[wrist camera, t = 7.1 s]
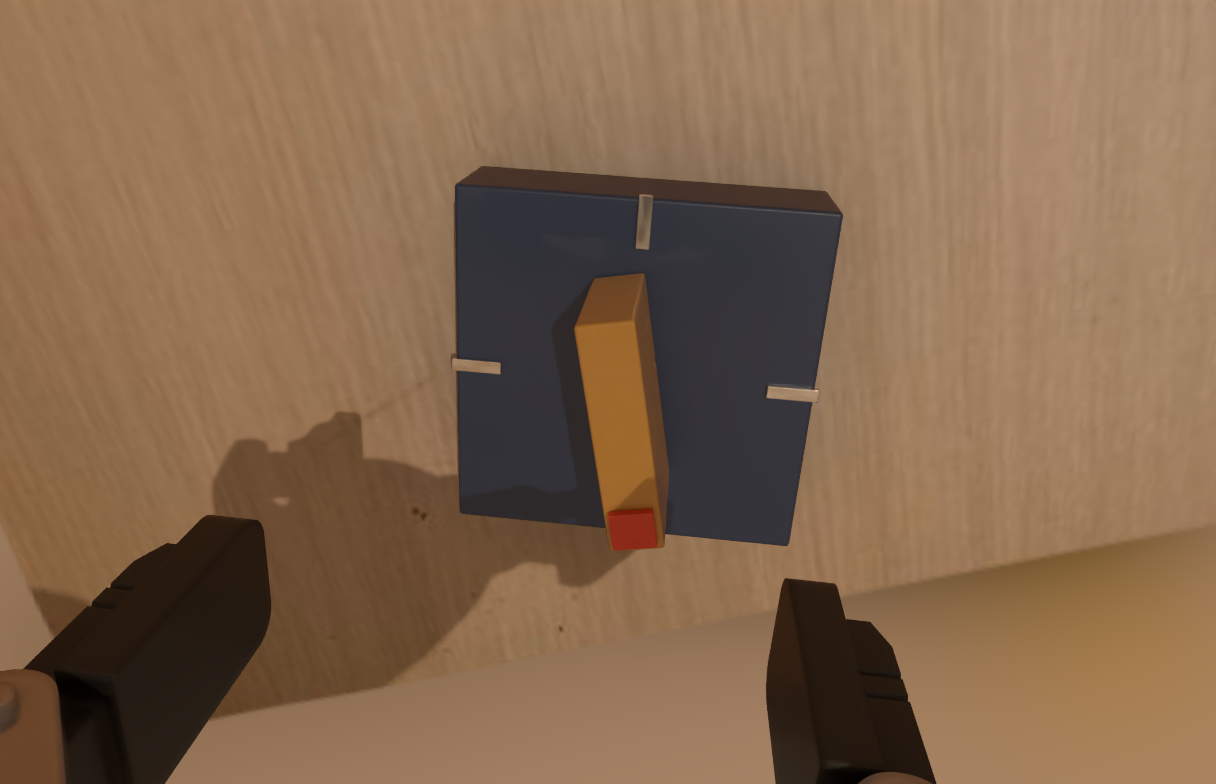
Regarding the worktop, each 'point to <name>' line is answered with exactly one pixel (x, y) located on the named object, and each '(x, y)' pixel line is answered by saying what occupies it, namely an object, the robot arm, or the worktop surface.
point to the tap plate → (682, 336)
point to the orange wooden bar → (624, 410)
